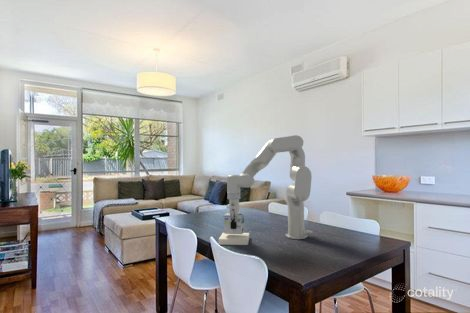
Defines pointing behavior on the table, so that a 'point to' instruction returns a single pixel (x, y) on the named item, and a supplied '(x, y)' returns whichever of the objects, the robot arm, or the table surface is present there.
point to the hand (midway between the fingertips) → (234, 226)
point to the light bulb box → (239, 224)
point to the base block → (234, 239)
